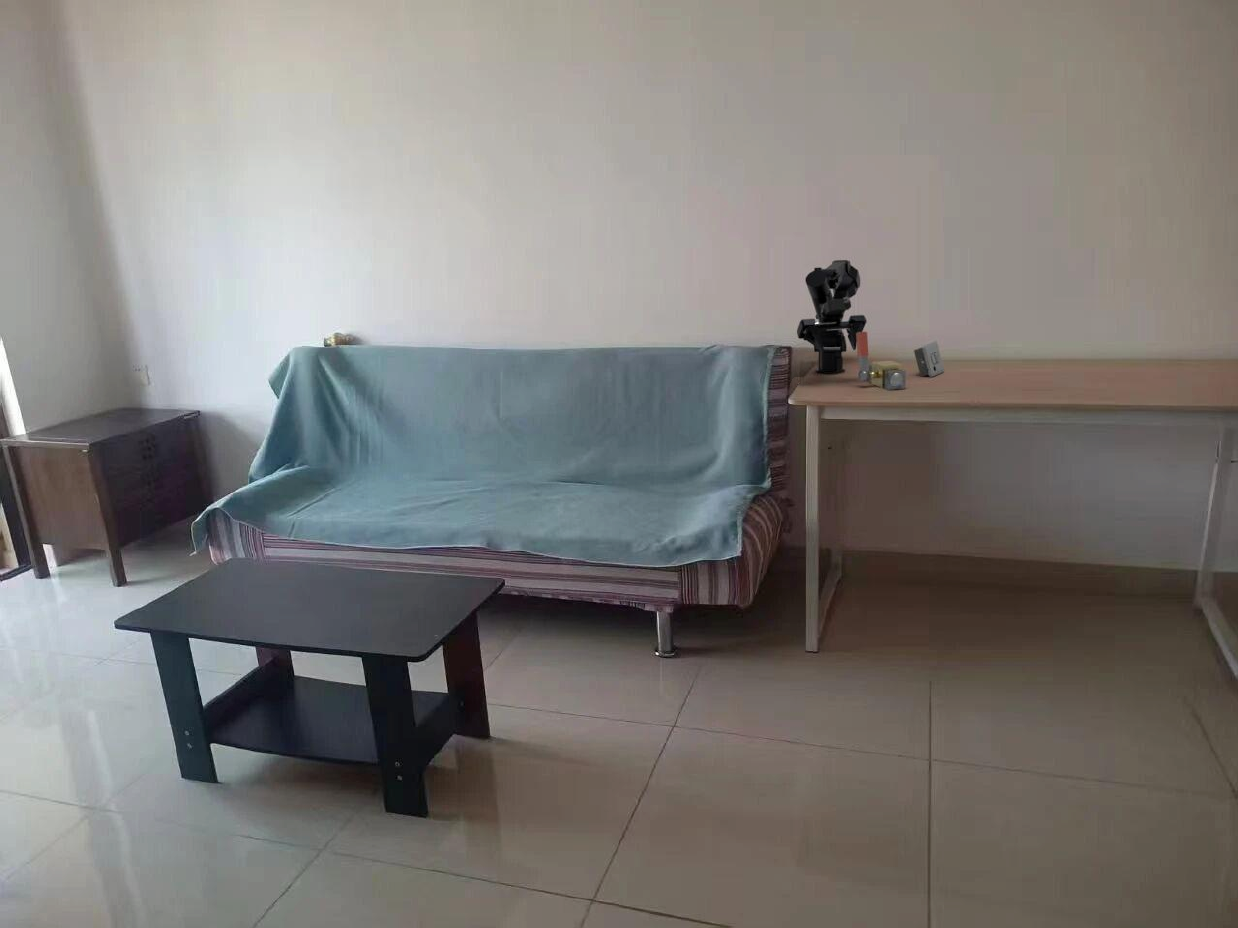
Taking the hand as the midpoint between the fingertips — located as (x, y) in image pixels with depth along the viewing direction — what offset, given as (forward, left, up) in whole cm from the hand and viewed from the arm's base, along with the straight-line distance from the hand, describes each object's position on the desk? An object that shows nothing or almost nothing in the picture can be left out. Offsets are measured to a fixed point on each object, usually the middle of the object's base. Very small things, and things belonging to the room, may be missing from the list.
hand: (839, 350), depth 264 cm
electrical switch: (+11, +27, -10) cm, 30 cm away
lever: (+8, +1, -8) cm, 11 cm away
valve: (+10, +6, -10) cm, 15 cm away
